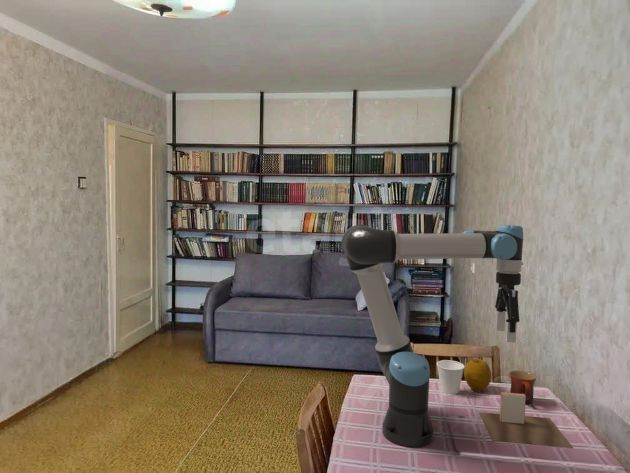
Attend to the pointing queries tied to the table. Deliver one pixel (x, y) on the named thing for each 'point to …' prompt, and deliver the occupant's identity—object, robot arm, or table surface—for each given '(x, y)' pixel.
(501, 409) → the tile
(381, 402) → the table surface
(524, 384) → the mug
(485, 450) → the table surface
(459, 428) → the table surface
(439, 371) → the cup
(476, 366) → the apple
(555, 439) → the board
